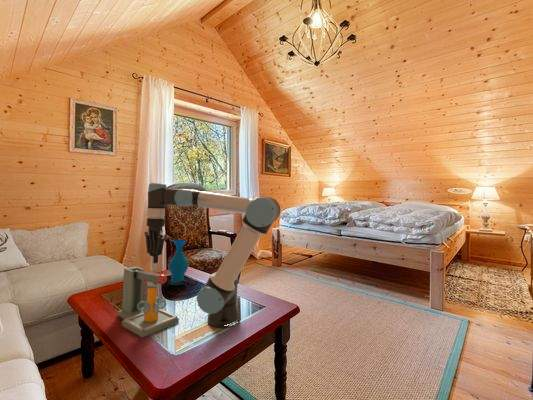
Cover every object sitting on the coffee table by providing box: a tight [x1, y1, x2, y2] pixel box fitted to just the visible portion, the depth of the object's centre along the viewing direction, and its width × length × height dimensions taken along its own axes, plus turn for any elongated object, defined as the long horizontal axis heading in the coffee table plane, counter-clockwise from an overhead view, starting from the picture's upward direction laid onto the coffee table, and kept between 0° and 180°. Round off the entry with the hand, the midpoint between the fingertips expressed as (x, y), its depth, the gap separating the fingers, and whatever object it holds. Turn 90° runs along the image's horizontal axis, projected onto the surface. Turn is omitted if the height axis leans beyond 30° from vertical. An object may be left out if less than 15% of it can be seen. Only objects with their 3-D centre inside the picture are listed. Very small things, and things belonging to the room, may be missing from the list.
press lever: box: [133, 270, 168, 289], centre depth 127 cm, size 24×5×6 cm, turn 56°
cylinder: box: [137, 286, 167, 322], centre depth 126 cm, size 12×10×15 cm
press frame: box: [117, 266, 180, 338], centre depth 129 cm, size 27×18×22 cm, turn 55°
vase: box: [168, 239, 189, 286], centre depth 183 cm, size 12×13×28 cm
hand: (153, 269), depth 125 cm, fingers closed
